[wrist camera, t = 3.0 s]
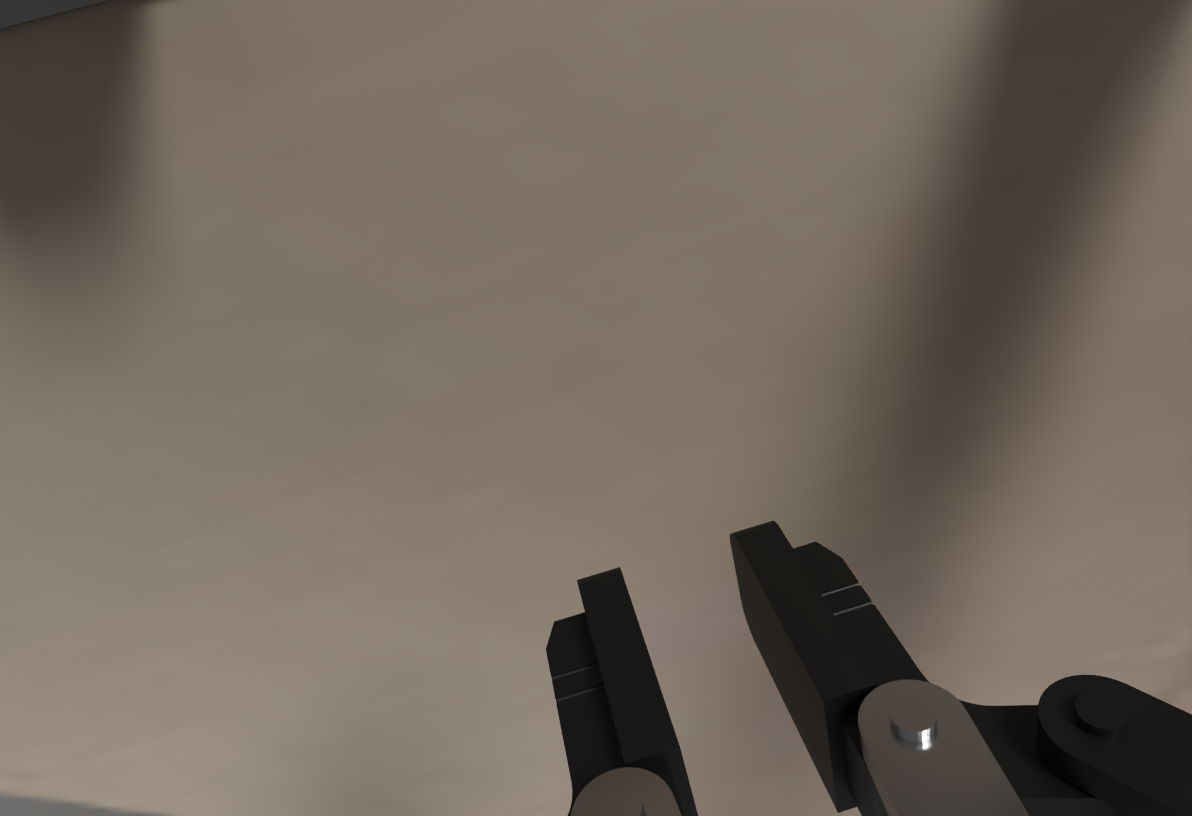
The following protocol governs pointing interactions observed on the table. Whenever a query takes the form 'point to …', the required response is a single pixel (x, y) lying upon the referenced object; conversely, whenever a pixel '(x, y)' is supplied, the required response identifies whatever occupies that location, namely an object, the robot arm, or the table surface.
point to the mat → (36, 9)
